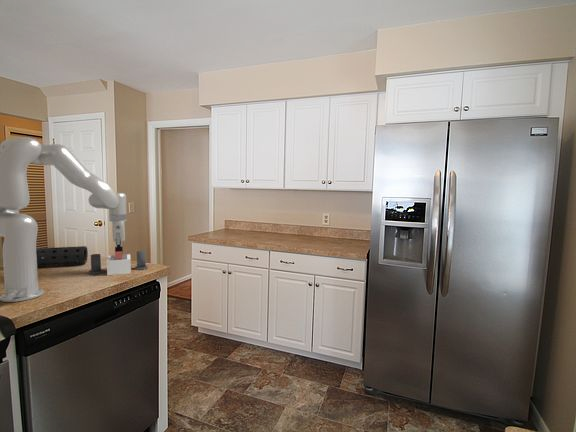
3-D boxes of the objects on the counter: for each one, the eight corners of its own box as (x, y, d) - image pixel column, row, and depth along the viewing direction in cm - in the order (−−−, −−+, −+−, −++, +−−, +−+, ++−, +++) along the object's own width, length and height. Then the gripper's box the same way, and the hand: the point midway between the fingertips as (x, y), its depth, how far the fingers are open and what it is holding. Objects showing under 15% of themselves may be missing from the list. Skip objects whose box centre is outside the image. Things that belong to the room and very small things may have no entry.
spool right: (148, 269, 158) (147, 252, 157) (135, 270, 155) (134, 253, 154) (147, 266, 163) (147, 250, 162) (134, 267, 160) (134, 251, 159)
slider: (122, 258, 148) (122, 252, 148) (115, 258, 147) (115, 252, 147) (122, 257, 150) (122, 251, 150) (115, 257, 149) (115, 251, 149)
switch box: (130, 273, 150) (130, 258, 150) (107, 275, 146) (106, 260, 145) (130, 267, 161) (130, 253, 160) (108, 269, 156) (108, 255, 156)
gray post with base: (102, 273, 148) (102, 255, 147) (88, 275, 145) (87, 256, 145) (103, 270, 154) (103, 253, 153) (89, 272, 151) (88, 254, 150)
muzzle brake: (83, 266, 160) (83, 247, 159) (16, 271, 150) (15, 250, 149) (88, 262, 169) (87, 244, 168) (25, 266, 159) (24, 246, 158)
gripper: (126, 219, 145) (127, 257, 147) (126, 216, 158) (127, 251, 160) (108, 219, 141) (109, 258, 143) (109, 216, 155) (110, 252, 156)
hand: (118, 254), depth 151 cm, fingers closed
